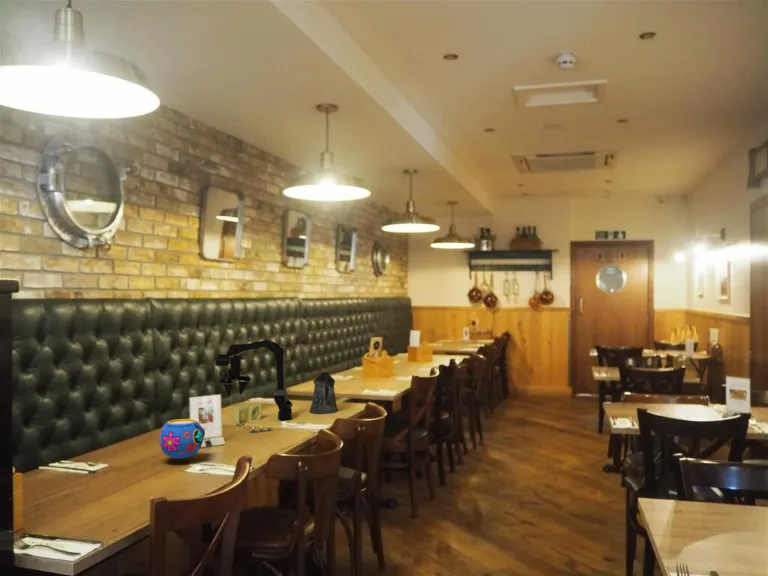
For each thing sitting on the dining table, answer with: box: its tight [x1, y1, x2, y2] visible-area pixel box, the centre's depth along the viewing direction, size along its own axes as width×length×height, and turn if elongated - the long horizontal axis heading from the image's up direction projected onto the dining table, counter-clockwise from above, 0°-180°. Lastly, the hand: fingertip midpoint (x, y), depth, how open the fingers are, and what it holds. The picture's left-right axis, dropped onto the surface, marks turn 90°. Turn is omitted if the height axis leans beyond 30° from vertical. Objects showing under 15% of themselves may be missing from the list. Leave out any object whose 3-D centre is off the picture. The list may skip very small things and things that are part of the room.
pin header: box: [248, 424, 274, 434], centre depth 322 cm, size 12×2×3 cm, turn 117°
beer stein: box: [308, 372, 339, 415], centre depth 371 cm, size 16×19×25 cm
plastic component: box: [229, 402, 263, 426], centre depth 348 cm, size 20×7×10 cm, turn 153°
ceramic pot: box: [158, 418, 206, 460], centre depth 268 cm, size 18×18×15 cm
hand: (234, 395), depth 355 cm, fingers open, 9 cm apart
